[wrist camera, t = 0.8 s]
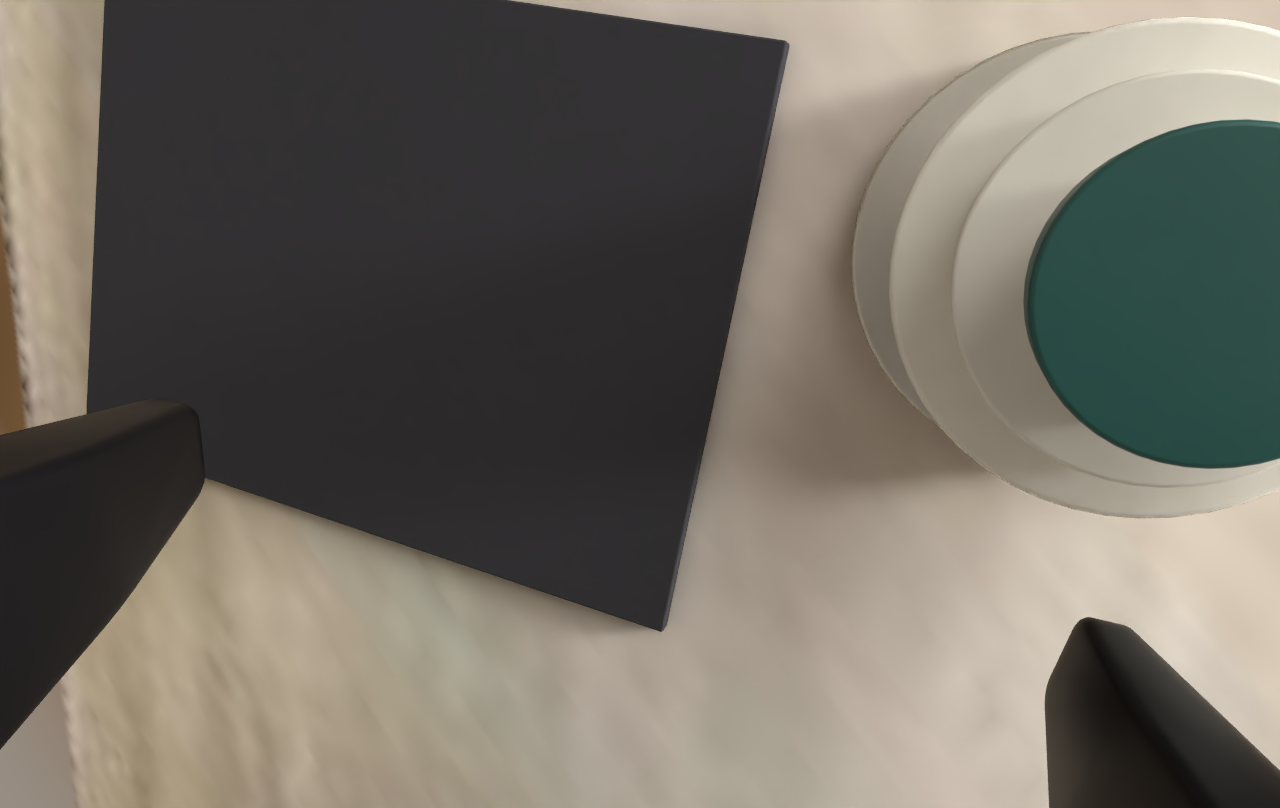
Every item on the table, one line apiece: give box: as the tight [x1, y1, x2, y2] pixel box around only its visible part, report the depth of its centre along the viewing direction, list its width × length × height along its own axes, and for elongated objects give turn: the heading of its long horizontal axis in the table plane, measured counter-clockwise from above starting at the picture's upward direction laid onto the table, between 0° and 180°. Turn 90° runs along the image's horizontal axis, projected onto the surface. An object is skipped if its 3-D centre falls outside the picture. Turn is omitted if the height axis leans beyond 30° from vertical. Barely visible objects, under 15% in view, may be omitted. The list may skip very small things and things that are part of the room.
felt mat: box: [87, 0, 789, 632], centre depth 26 cm, size 15×20×1 cm
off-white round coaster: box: [852, 32, 1092, 427], centre depth 20 cm, size 9×9×1 cm
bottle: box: [889, 17, 1280, 518], centre depth 14 cm, size 6×6×12 cm
